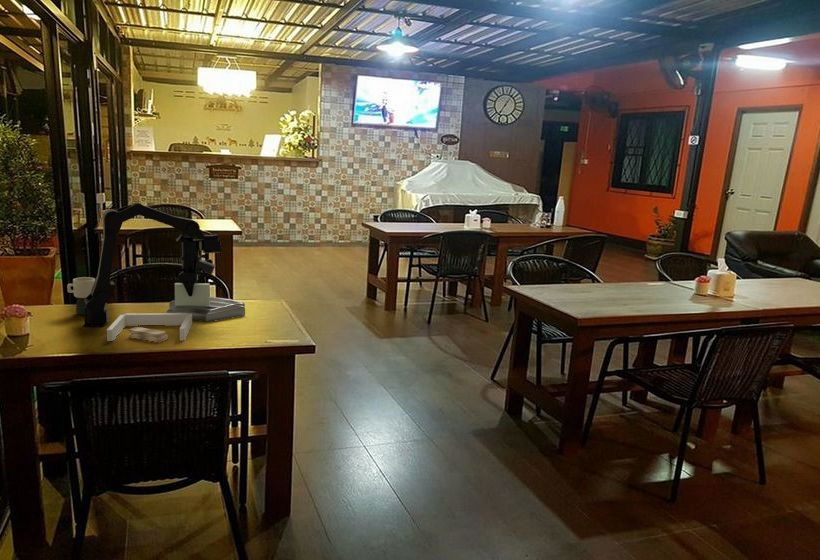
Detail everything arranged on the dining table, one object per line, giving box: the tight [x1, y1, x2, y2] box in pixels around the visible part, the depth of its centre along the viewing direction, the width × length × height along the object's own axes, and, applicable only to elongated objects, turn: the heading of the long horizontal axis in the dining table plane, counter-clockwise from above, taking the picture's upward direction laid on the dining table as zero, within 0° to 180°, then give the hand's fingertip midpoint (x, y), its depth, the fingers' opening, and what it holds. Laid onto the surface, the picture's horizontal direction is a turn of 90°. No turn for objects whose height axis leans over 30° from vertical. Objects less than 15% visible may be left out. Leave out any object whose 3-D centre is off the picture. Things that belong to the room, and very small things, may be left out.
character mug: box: [66, 276, 96, 315], centre depth 212 cm, size 11×7×13 cm, turn 107°
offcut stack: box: [128, 326, 169, 344], centre depth 190 cm, size 12×4×3 cm, turn 71°
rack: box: [106, 312, 193, 342], centre depth 196 cm, size 23×20×4 cm
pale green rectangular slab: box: [174, 282, 211, 306], centre depth 217 cm, size 12×2×8 cm, turn 103°
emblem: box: [166, 296, 246, 323], centre depth 224 cm, size 28×5×28 cm
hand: (191, 295), depth 217 cm, fingers open, 3 cm apart
